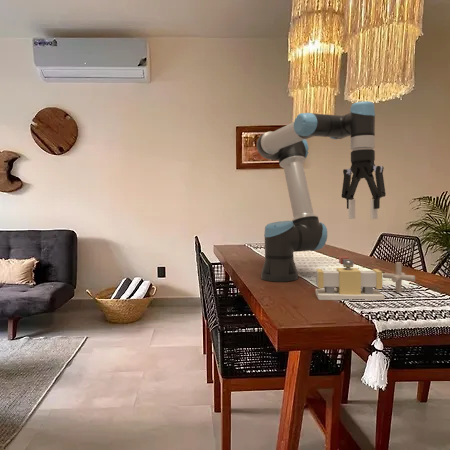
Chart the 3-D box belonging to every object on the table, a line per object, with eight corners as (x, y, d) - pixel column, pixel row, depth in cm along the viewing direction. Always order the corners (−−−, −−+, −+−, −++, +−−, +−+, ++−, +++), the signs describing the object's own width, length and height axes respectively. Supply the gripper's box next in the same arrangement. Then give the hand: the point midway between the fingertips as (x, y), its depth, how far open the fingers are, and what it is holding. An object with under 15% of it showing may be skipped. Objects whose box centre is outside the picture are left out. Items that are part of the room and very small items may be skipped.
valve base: (315, 293, 129) (315, 265, 128) (376, 293, 126) (376, 265, 125) (318, 299, 120) (318, 269, 119) (384, 300, 117) (384, 270, 117)
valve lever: (338, 262, 132) (338, 256, 132) (347, 262, 132) (347, 256, 132) (344, 267, 121) (344, 261, 121) (354, 267, 121) (354, 261, 121)
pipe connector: (387, 287, 135) (387, 259, 135) (418, 290, 129) (418, 261, 128) (378, 292, 128) (378, 263, 127) (410, 296, 121) (410, 265, 121)
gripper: (398, 146, 119) (398, 218, 121) (343, 154, 136) (343, 217, 137) (385, 145, 115) (385, 219, 116) (330, 153, 131) (330, 218, 132)
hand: (362, 218), depth 126 cm, fingers open, 8 cm apart
